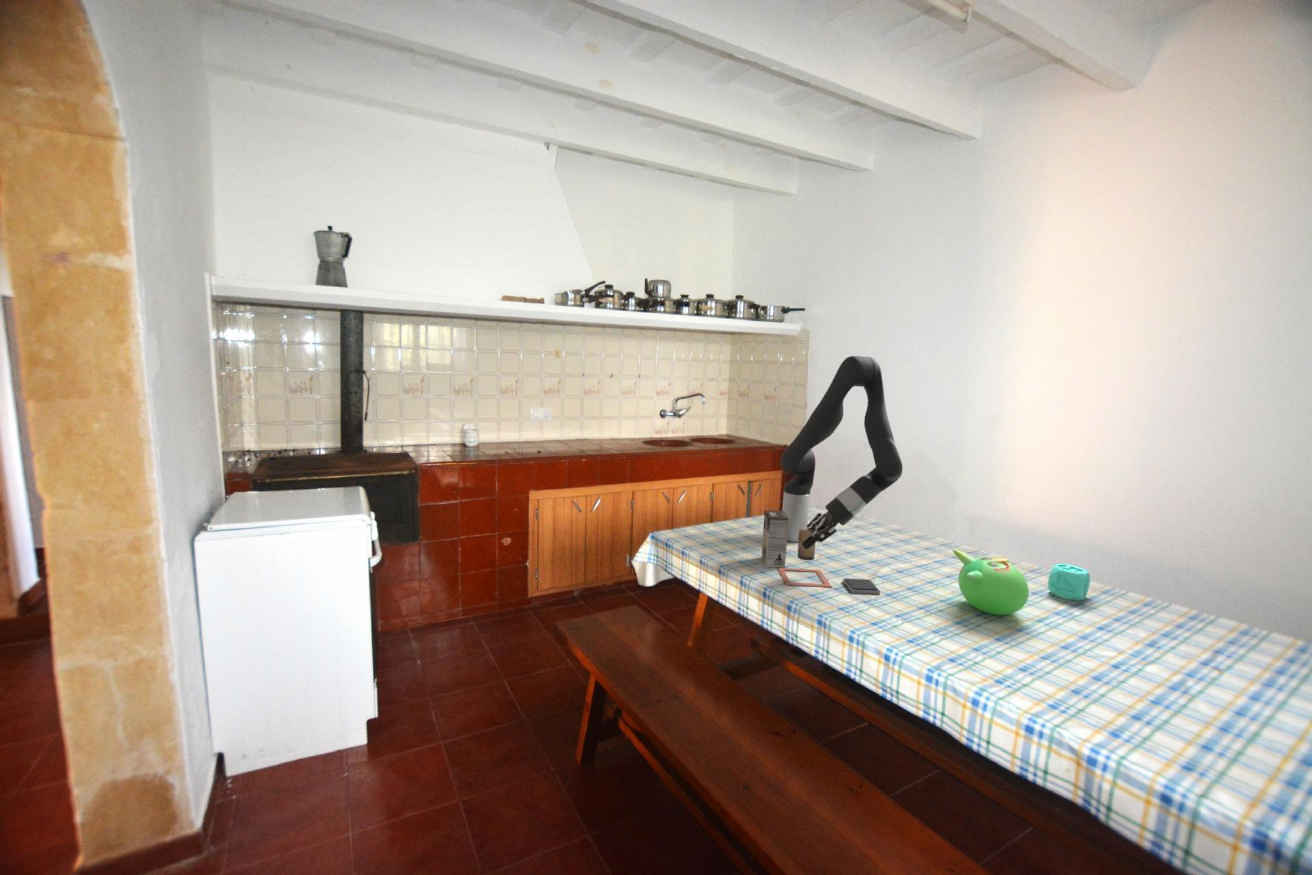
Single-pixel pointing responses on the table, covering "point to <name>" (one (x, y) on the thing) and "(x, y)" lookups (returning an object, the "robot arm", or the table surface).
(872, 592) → the ink pad
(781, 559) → the coffee box
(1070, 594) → the decorative dice
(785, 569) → the marked square
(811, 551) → the stamp
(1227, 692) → the table surface
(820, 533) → the robot arm
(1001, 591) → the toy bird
